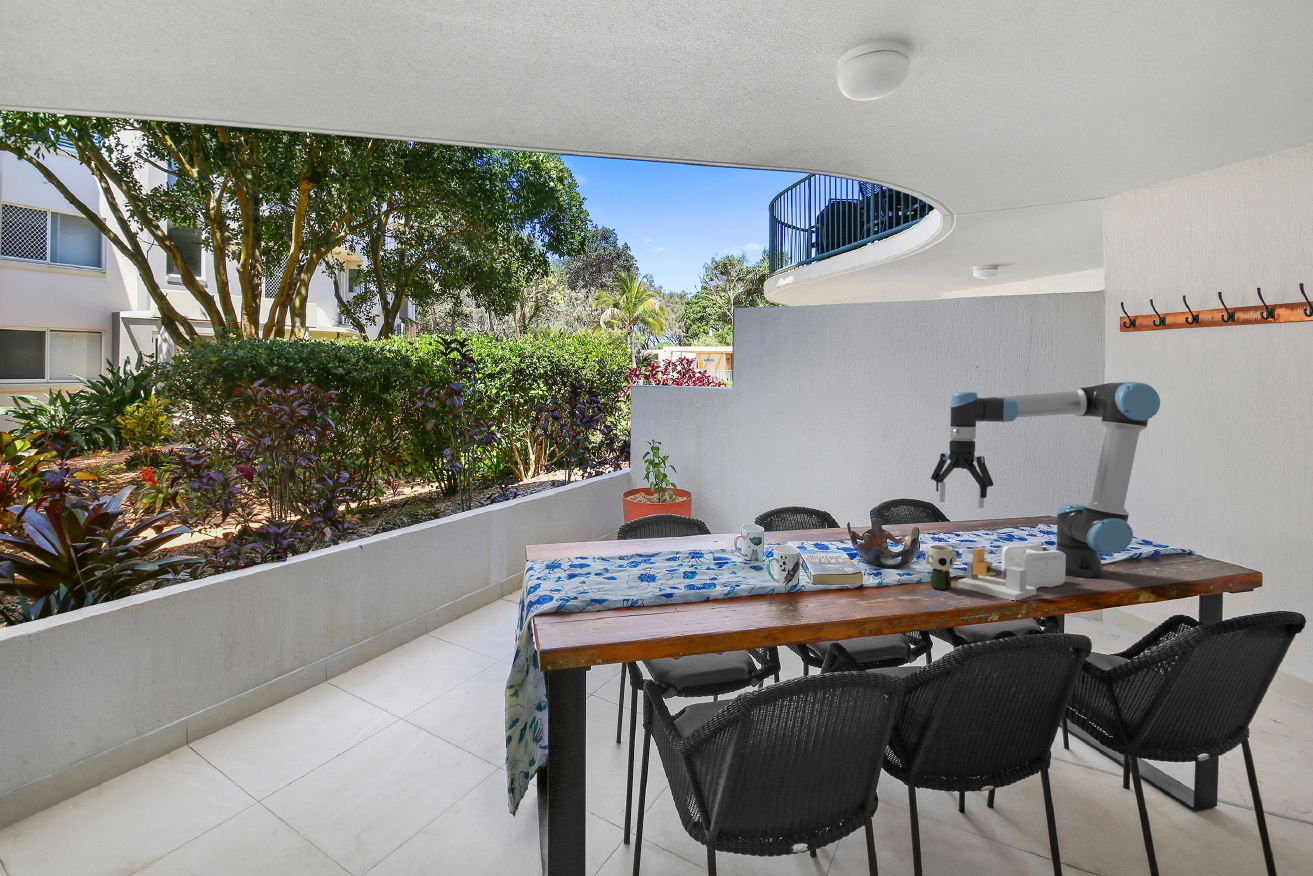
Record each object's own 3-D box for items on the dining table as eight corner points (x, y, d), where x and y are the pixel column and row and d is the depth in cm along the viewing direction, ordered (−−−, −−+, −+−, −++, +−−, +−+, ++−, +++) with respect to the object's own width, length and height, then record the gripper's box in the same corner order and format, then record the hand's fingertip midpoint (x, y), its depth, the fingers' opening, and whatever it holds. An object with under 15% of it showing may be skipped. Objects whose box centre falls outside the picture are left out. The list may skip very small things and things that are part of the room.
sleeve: (979, 571, 201) (980, 547, 200) (992, 574, 197) (992, 549, 197) (972, 573, 199) (973, 549, 198) (984, 576, 195) (985, 551, 195)
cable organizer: (1040, 577, 207) (1041, 543, 206) (1066, 587, 196) (1067, 550, 196) (1000, 580, 204) (1001, 546, 203) (1025, 590, 194) (1026, 553, 193)
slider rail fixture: (979, 580, 205) (979, 555, 205) (1036, 594, 190) (1037, 567, 189) (957, 586, 199) (958, 561, 198) (1015, 601, 184) (1015, 574, 183)
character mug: (933, 592, 193) (933, 551, 192) (918, 586, 200) (918, 546, 199) (963, 589, 195) (963, 549, 194) (947, 583, 202) (948, 543, 201)
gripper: (921, 437, 210) (919, 500, 212) (994, 442, 189) (991, 511, 191) (934, 437, 214) (932, 498, 216) (1007, 441, 193) (1004, 509, 195)
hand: (960, 504), depth 203 cm, fingers open, 13 cm apart
